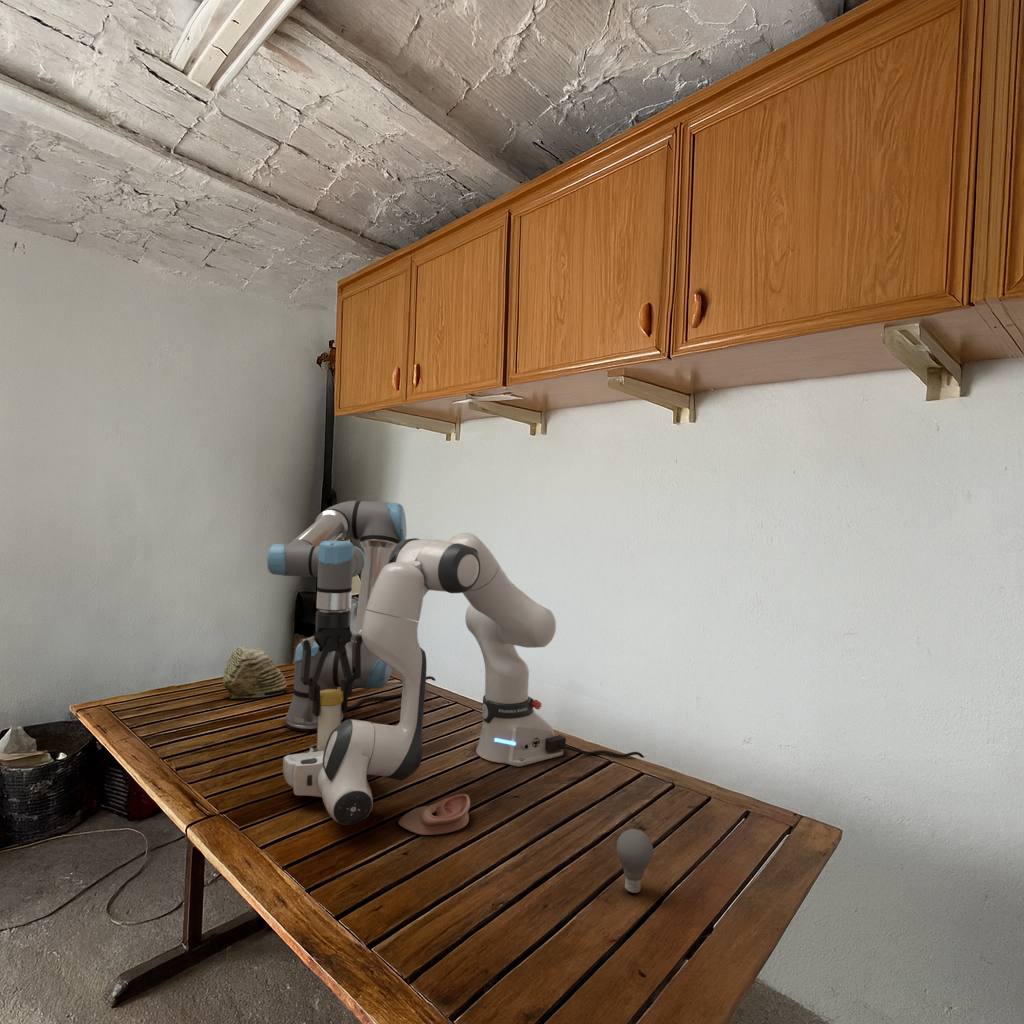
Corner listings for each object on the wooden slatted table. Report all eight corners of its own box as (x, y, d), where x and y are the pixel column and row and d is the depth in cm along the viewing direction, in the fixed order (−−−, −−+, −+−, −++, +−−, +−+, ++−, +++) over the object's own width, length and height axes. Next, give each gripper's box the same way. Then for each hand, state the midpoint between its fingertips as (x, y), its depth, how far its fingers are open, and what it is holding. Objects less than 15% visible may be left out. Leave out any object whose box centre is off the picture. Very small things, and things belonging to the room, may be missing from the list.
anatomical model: (392, 810, 121) (414, 784, 132) (391, 830, 121) (413, 803, 132) (459, 820, 118) (475, 792, 130) (458, 841, 118) (474, 812, 130)
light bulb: (610, 879, 108) (613, 822, 108) (644, 879, 109) (647, 822, 109) (619, 902, 102) (622, 840, 102) (655, 901, 103) (658, 840, 103)
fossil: (218, 695, 195) (220, 647, 195) (278, 685, 208) (279, 640, 207) (228, 703, 189) (230, 653, 188) (289, 692, 201) (290, 645, 201)
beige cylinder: (337, 771, 146) (340, 690, 146) (339, 781, 141) (343, 697, 141) (314, 774, 144) (318, 692, 144) (316, 783, 140) (319, 699, 139)
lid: (341, 696, 146) (342, 688, 146) (344, 704, 141) (344, 695, 141) (316, 698, 144) (316, 689, 144) (317, 706, 139) (318, 697, 139)
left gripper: (367, 604, 150) (363, 701, 151) (286, 609, 140) (283, 713, 141) (379, 610, 144) (375, 711, 144) (295, 615, 134) (291, 724, 134)
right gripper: (388, 752, 135) (373, 729, 148) (287, 765, 127) (280, 740, 139) (387, 781, 135) (372, 756, 148) (286, 796, 127) (279, 769, 139)
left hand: (329, 712), depth 143 cm, fingers closed on lid, 6 cm apart
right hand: (327, 748), depth 144 cm, fingers closed on beige cylinder, 5 cm apart
